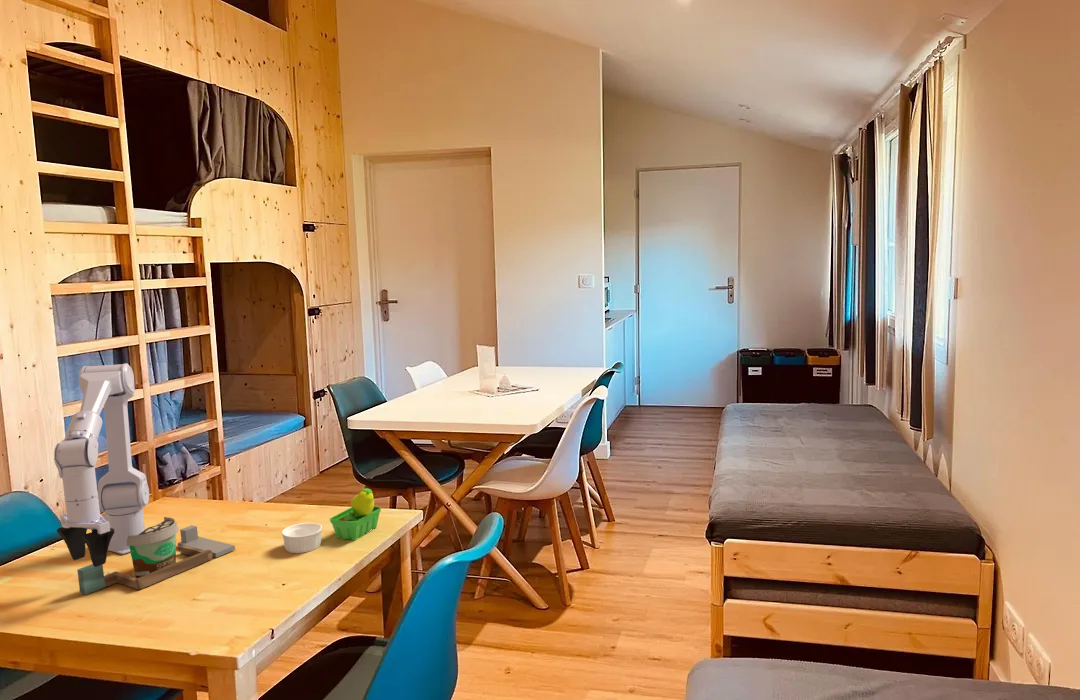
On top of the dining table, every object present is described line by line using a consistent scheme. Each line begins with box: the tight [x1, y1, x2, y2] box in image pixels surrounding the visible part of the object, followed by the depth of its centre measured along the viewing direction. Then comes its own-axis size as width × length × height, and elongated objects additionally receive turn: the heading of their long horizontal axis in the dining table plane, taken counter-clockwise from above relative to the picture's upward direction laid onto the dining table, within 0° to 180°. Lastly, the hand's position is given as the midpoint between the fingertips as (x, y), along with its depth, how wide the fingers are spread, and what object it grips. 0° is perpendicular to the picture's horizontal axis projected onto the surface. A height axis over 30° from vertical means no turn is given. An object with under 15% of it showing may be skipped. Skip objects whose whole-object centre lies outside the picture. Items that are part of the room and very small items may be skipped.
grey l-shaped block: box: [177, 525, 236, 558], centre depth 175 cm, size 14×5×4 cm, turn 60°
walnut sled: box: [77, 545, 213, 596], centre depth 161 cm, size 10×24×5 cm, turn 150°
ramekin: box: [281, 522, 323, 554], centre depth 174 cm, size 9×9×4 cm
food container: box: [127, 516, 180, 578], centre depth 163 cm, size 12×6×10 cm, turn 168°
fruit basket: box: [329, 488, 382, 541], centre depth 181 cm, size 11×9×11 cm
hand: (89, 561), depth 154 cm, fingers open, 7 cm apart
